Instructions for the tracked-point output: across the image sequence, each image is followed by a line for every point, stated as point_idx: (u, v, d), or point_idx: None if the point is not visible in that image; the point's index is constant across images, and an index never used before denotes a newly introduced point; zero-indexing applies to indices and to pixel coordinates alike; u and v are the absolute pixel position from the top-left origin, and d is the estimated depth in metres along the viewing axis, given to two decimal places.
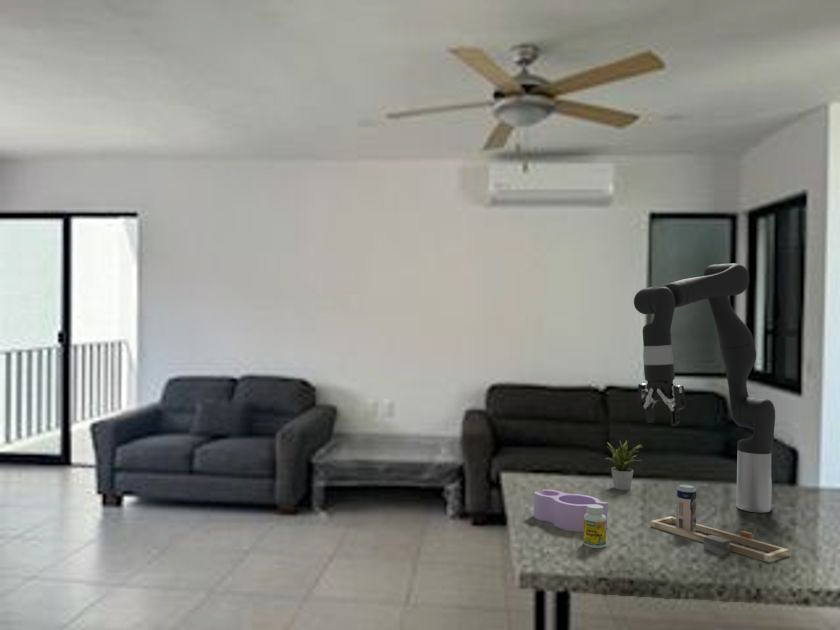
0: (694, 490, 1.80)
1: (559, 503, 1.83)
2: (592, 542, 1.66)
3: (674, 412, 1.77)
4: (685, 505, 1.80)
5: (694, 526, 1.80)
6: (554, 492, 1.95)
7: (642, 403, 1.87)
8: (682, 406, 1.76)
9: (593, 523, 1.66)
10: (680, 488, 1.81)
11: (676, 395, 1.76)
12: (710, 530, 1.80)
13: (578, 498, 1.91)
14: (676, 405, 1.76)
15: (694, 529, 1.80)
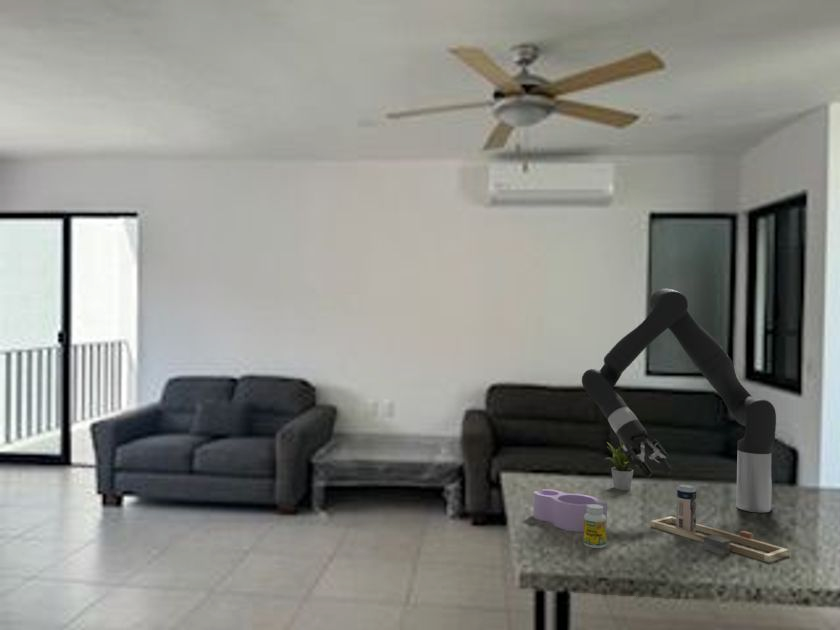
0: (694, 490, 1.80)
1: (559, 503, 1.83)
2: (592, 542, 1.66)
3: None
4: (685, 505, 1.80)
5: (694, 526, 1.80)
6: (554, 492, 1.95)
7: None
8: (633, 461, 1.88)
9: (593, 523, 1.66)
10: (680, 488, 1.81)
11: None
12: (710, 530, 1.80)
13: (578, 498, 1.91)
14: None
15: (694, 529, 1.80)
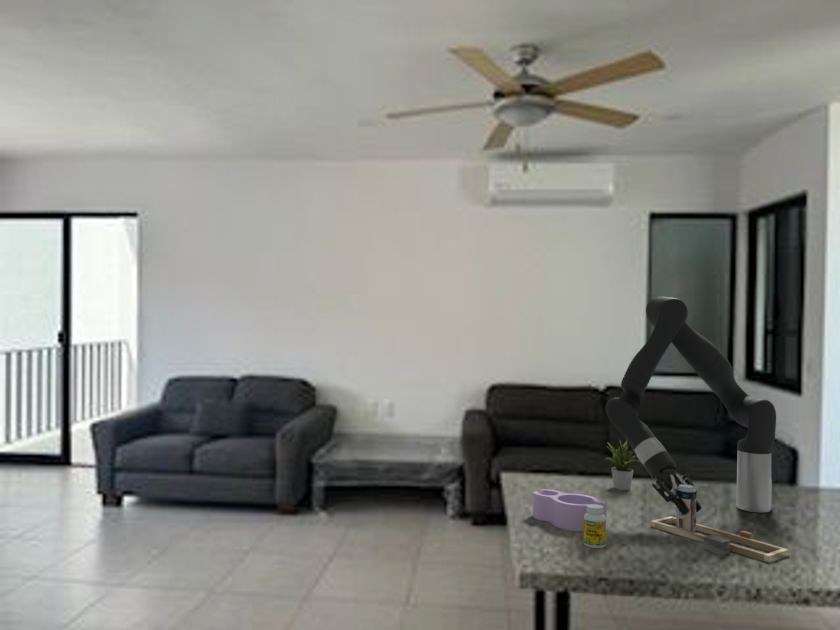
0: (694, 490, 1.80)
1: (558, 503, 1.83)
2: (592, 542, 1.66)
3: None
4: None
5: (694, 526, 1.80)
6: (553, 492, 1.95)
7: None
8: (669, 498, 1.80)
9: (593, 523, 1.66)
10: (680, 488, 1.81)
11: None
12: (710, 530, 1.80)
13: (577, 498, 1.91)
14: None
15: (694, 529, 1.80)
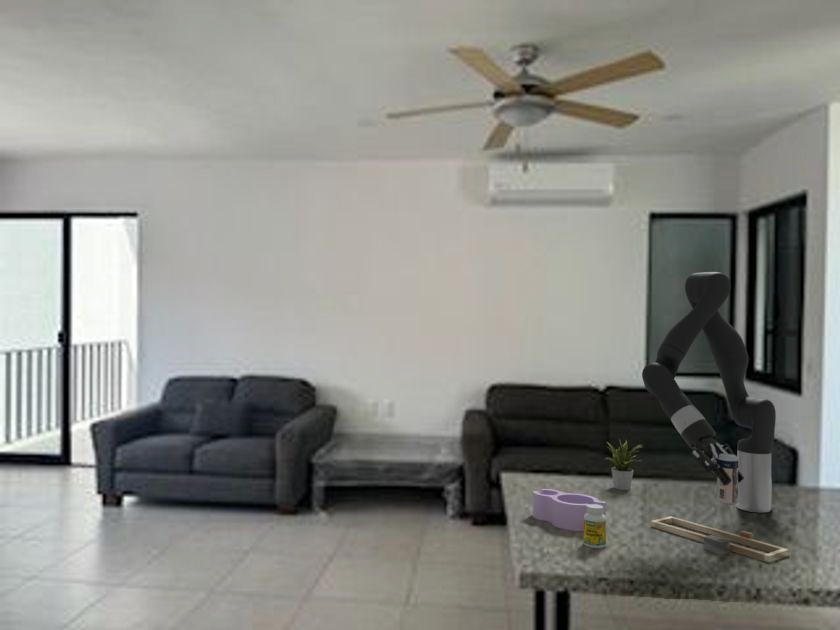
0: (736, 459, 1.71)
1: (557, 502, 1.83)
2: (592, 542, 1.66)
3: None
4: None
5: (736, 497, 1.71)
6: (553, 491, 1.95)
7: None
8: (709, 467, 1.71)
9: (593, 523, 1.66)
10: (721, 457, 1.72)
11: None
12: (710, 530, 1.80)
13: (577, 498, 1.91)
14: None
15: (736, 500, 1.71)
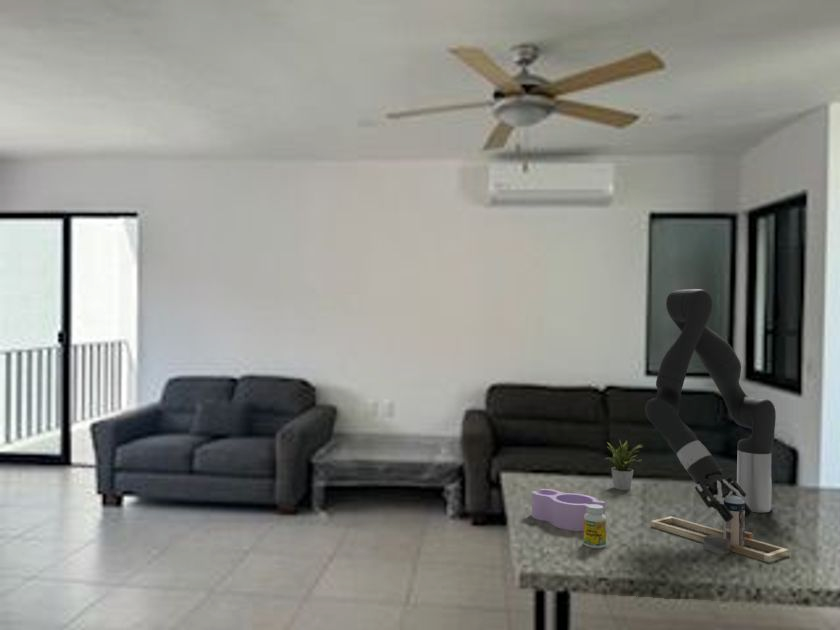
0: (743, 502, 1.69)
1: (557, 502, 1.84)
2: (592, 542, 1.66)
3: None
4: (733, 517, 1.69)
5: (743, 540, 1.69)
6: (552, 491, 1.95)
7: None
8: (710, 503, 1.69)
9: (593, 523, 1.66)
10: (727, 499, 1.70)
11: None
12: (710, 530, 1.80)
13: (576, 498, 1.91)
14: None
15: (743, 543, 1.69)
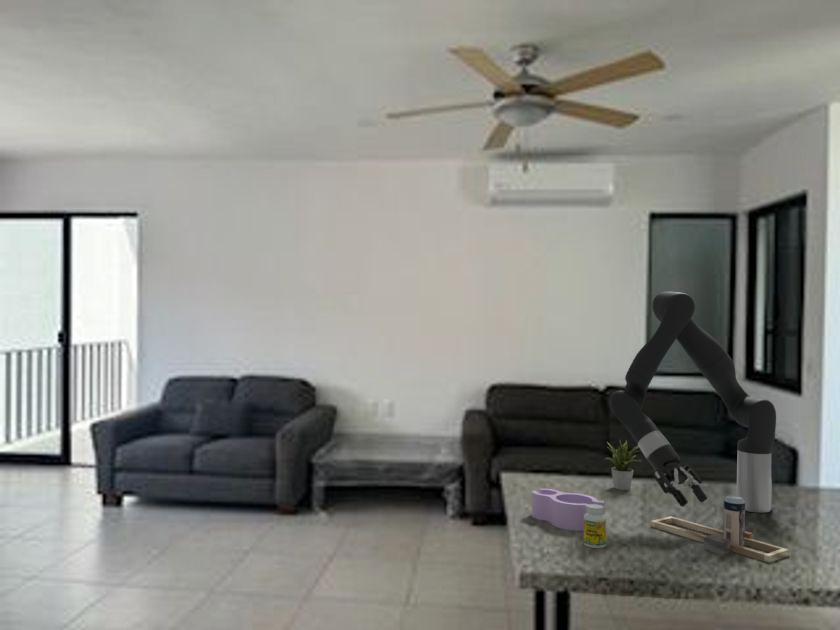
0: (743, 502, 1.69)
1: (556, 502, 1.84)
2: (592, 542, 1.66)
3: None
4: (733, 517, 1.69)
5: (743, 540, 1.69)
6: (552, 491, 1.96)
7: None
8: (666, 489, 1.79)
9: (593, 523, 1.66)
10: (728, 499, 1.70)
11: None
12: (710, 530, 1.80)
13: (576, 497, 1.91)
14: None
15: (743, 543, 1.69)
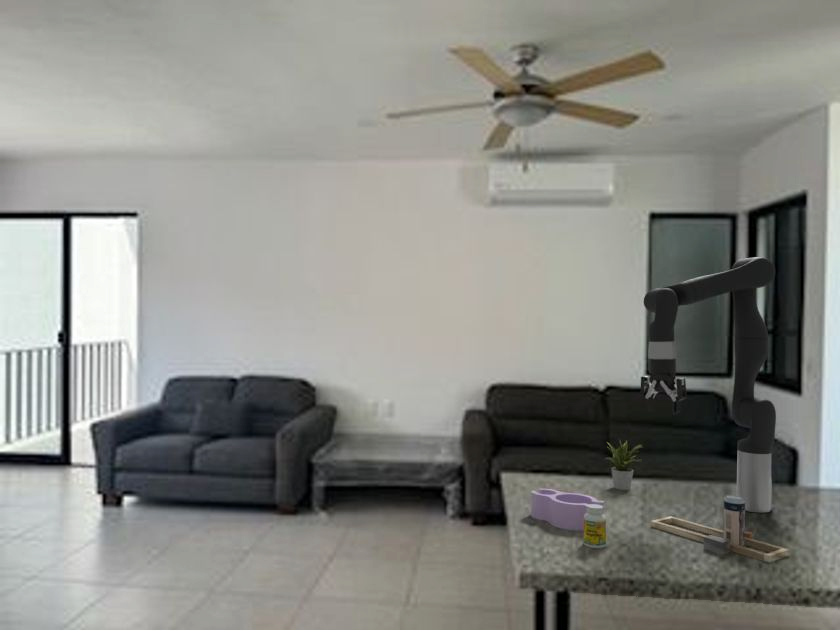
0: (743, 502, 1.69)
1: (556, 502, 1.84)
2: (592, 542, 1.66)
3: (676, 402, 1.95)
4: (733, 517, 1.69)
5: (743, 540, 1.69)
6: (551, 491, 1.96)
7: (644, 394, 2.04)
8: (683, 397, 1.94)
9: (593, 523, 1.66)
10: (728, 499, 1.70)
11: (679, 387, 1.94)
12: (710, 530, 1.80)
13: (575, 497, 1.92)
14: (678, 396, 1.94)
15: (743, 543, 1.69)
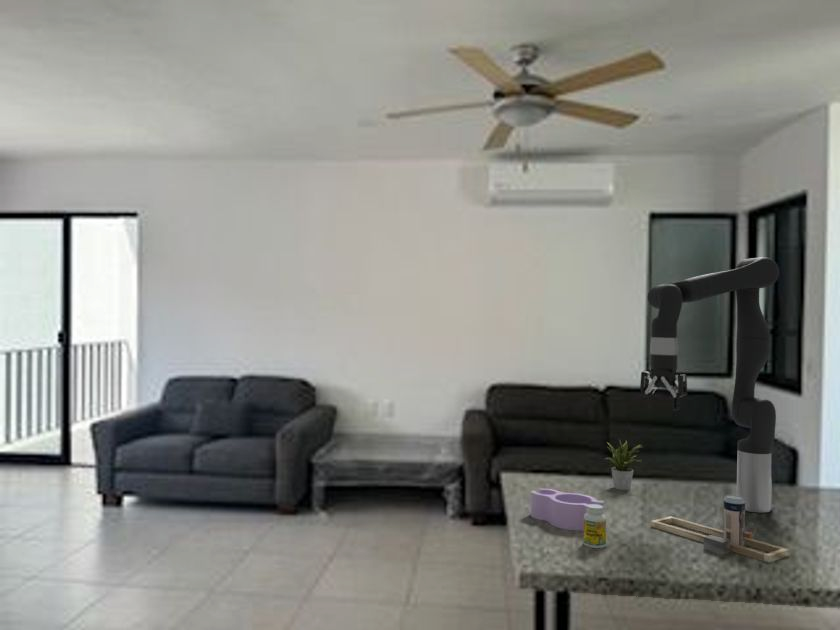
0: (743, 502, 1.69)
1: (555, 502, 1.84)
2: (592, 542, 1.66)
3: (676, 398, 1.96)
4: (733, 517, 1.69)
5: (743, 540, 1.69)
6: (551, 491, 1.96)
7: (643, 389, 2.04)
8: (684, 393, 1.94)
9: (593, 523, 1.66)
10: (728, 499, 1.70)
11: (680, 383, 1.94)
12: (710, 530, 1.80)
13: (575, 497, 1.92)
14: (679, 392, 1.94)
15: (743, 543, 1.69)
